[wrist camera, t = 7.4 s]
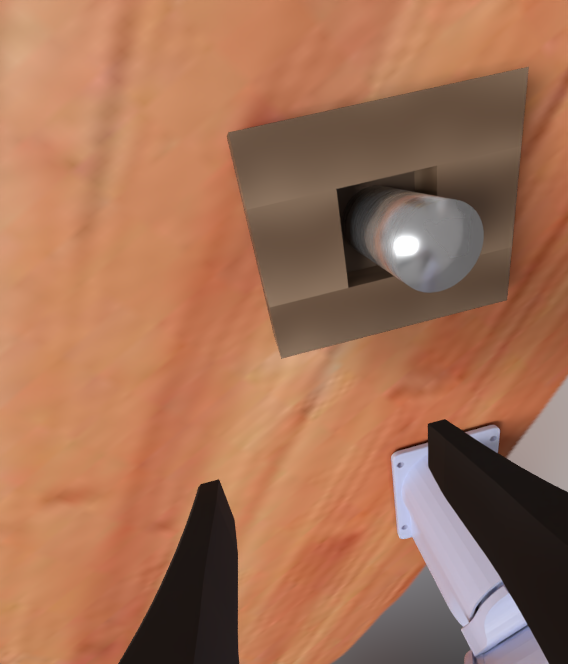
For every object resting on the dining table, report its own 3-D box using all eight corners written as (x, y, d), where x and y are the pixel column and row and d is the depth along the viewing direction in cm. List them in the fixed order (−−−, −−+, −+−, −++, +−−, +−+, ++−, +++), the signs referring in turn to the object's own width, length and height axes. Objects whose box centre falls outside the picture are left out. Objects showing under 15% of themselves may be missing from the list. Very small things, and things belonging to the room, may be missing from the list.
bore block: (476, 284, 21) (506, 300, 19) (274, 336, 20) (281, 358, 18) (486, 79, 16) (528, 66, 14) (226, 136, 16) (228, 132, 13)
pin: (405, 244, 19) (480, 280, 13) (345, 259, 18) (398, 301, 13) (402, 178, 17) (486, 189, 12) (337, 193, 17) (393, 211, 12)
